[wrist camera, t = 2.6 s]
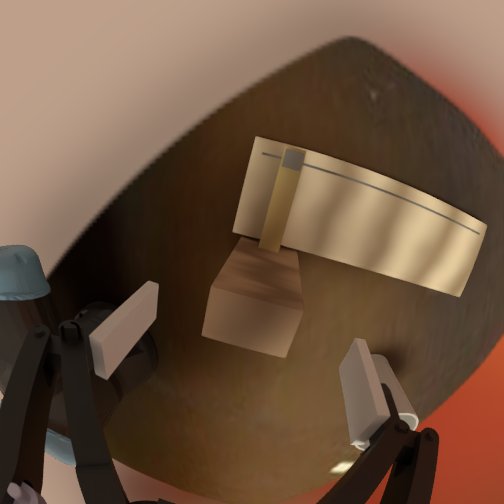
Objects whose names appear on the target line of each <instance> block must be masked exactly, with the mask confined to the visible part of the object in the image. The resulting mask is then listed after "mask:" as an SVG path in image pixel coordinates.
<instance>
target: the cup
mask: <svg viewBox="0 0 504 504" xmlns="http://www.w3.org/2000/svg"><path fill="white" fill-rule="evenodd" d="M370 355H371V357H372V360H373V363H374V366H375V369H376V372H377V375H378V378H379V381H380V383H385V384H386V385H387V386H388V387H389V389H390V390H391V393H392V397H393V399H394V402H395V405H396V408H397V411H398V414H399V417H400V419H401V420H404V421H405V422H406V423H408V425H409V426H410V430H413V431H414V430H415V429H416V427H417V425H418V417H417V415H416V414H415V412H414V410H413V408H412V406H411V404H410V402H409V400H408V399H407V397H406V395H405V393H404V391H403V389H402V387H401V385H400V384H399V382H398V380H397V378H396V376H395V374H394V373H393V371H392V369H391V367H390V365H389V363H388V361H387V359H386V358H385V357H384V356H382V355H379V354H370ZM369 445H370V443H369V440H368V441H367V442H366V443H365V444H364V445H355V446H356V447H357V448H358V449H360V450H365V449H366V448H367V447H368V446H369Z"/></svg>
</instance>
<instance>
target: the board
mask: <svg viewBox="0 0 504 504" xmlns="http://www.w3.org/2000/svg"><path fill="white" fill-rule="evenodd" d="M285 145H286V146H290V147H294V148H297V149H301V150H305V151H306V155H305V159H304V162H303V166H302V170H301V174H300V177H299V181H298V185H297V188H296V192H295V196H294V199H293V203H292V206H291V210H290V214H289V217H288V221H287V224H286V228H285V231H284V235H283V238H282V242H281V245H282V246H286V247H289V248H293V249H297V250H300V251H304V252H307V253H311V254H315V255H318V256H322V257H325V258H329V259H332V260H336V261H339V262H343V263H346V264H350V265H353V266H357V267H360V268H364V269H367V270H371V271H374V272H377V273H381V274H384V275H388V276H391V277H394V278H398V279H401V280H405V281H408V282H411V283H415V284H418V285H421V286H425V287H428V288H431V289H435V290H438V291H441V292H444V293H448V294H451V295H454V296H457V297H460V296H461V293H462V291H463V289H464V287H465V285H466V282H467V280H468V278H469V275H470V273H471V270H472V268H473V265H474V263H475V260H476V258H477V255H478V252H479V249H480V246H481V244H482V241H483V238H484V235H485V231H486V228H487V225H486V224H484V223H482V222H481V221H479V220H477V219H475V218H473V217H472V216H470V215H468V214H466V213H464V212H462V211H460V210H458V209H456V208H455V207H453V206H451V205H449V204H447V203H445V202H443V201H440V200H438V199H436V198H434V197H432V196H430V195H428V194H426V193H423V192H421V191H419V190H417V189H415V188H412V187H410V186H408V185H405V184H403V183H401V182H398V181H396V180H393V179H391V178H388V177H386V176H383V175H381V174H378V173H375V172H373V171H370V170H367V169H365V168H362V167H359V166H356V165H354V164H351V163H348V162H345V161H342V160H339V159H336V158H333V157H330V156H326V155H323V154H320V153H317V152H313V151H310V150H307V149H303V148H299V147H296V146H292V145H289V144H285V143H281V142H277V141H273V140H269V139H265V138H261V137H256V138H255V141H254V145H253V149H252V153H251V157H250V161H249V165H248V169H247V173H246V177H245V181H244V185H243V189H242V193H241V198H240V202H239V206H238V210H237V214H236V219H235V223H234V227H233V231H232V232H234V233H238V234H242V235H246V236H249V237H253V238H257V239H261V235H262V231H263V227H264V223H265V220H266V216H267V212H268V208H269V205H270V201H271V197H272V193H273V189H274V186H275V182H276V178H277V174H278V170H279V167H280V163H281V159H282V155H283V151H284V147H285Z"/></svg>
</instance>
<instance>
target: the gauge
mask: <svg viewBox="0 0 504 504" xmlns="http://www.w3.org/2000/svg"><path fill="white" fill-rule="evenodd" d="M305 155H306V151H305V150H301V149H297V148H294V147H290V146H286V145H285V147H284V151H283V155H282V159H281V163H280V167H279V170H278V174H277V178H276V182H275V186H274V189H273V193H272V197H271V201H270V205H269V208H268V212H267V216H266V220H265V223H264V227H263V231H262V235H261V239H257V238H253V237H249V236H246V235H242V236H241V238H240V240H239V241H238V243H237V245H236V246H235V248H234V249H233V251H232V253H231V254H230V256H229V257H228V259H227V261H226V262H225V264H224V266H223V267H222V269H221V271H220V272H219V274H218V275H217V277H216V279H215V280H214V282H213V284H212V285H211V289H210V294H209V299H208V304H207V309H206V314H205V319H204V325H203V330H202V335H201V336H204V337H208V338H211V339H214V340H218V341H221V342H224V343H228V344H231V345H235V346H239V347H242V348H246V349H250V350H254V351H258V352H261V353H266V354H270V355H274V356H278V357H282V358H285V357H286V355H287V352H288V350H289V348H290V345H291V343H292V340H293V338H294V336H295V333H296V331H297V328H298V326H299V323H300V321H301V318H302V316H303V313H304V305H303V296H302V287H301V278H300V270H299V262H298V254H297V249H293V248H289V247H286V246H282V245H281V242H282V238H283V235H284V231H285V228H286V224H287V221H288V217H289V214H290V210H291V206H292V203H293V199H294V196H295V192H296V188H297V185H298V181H299V177H300V174H301V170H302V166H303V162H304V159H305Z"/></svg>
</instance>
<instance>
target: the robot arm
mask: <svg viewBox="0 0 504 504" xmlns="http://www.w3.org/2000/svg"><path fill="white" fill-rule="evenodd" d="M158 288H159V284H157V283H154V282H151V281H148V282H146V283H145V284H144V285H143V286H142V287H141V288H140V289H139V290H137V291H136V292H135V293H134V294H133V295H132V296H131V297H130V298H129V299H127V300H126V301H125V302H124V303H123V304H122V305H121V306H120V307H119V306H116V305H114V304H112V303H108V302H104V301H96V302H92V303H90V304H88V305H87V306H85V307H84V308H83V309H82V310H81V311H79V313H78V314H77V315H76V317H75V319H74V320H66V321H64V322H62V323H61V321H60V318H59V315H58V313H57V310H56V307H55V304H54V302H53V299H52V296H51V293H50V291H51V289H50V286H49V283H48V282H47V281H46V278H45V275H44V272H43V270H42V266H41V263H40V260H39V257H38V255H37V254H36V252H35V251H34V250H33V249H31V248H30V247H27V246H24V245H11V246H1V247H0V391H1V392H2V394H3V395H4V397H3V399H2V400H1V404H0V504H47V503H46V502H45V500H44V498H43V497H42V496H41V490H42V483H43V466H44V452H46V453H47V454H49V455H51V456H52V457H54V458H55V459H57V460H59V461H60V462H63V463H64V464H67V465H76V468H75V469H76V474H77V478H78V482H79V485H80V488H81V491H82V494H83V497H84V500H85V503H86V504H174V503H171V502H168V501H165V500H163V499H160V498H159V500H158V502H156V501H135V502H131V503H130V502H129V500H128V498H127V496H126V494H125V491H124V490H123V487H122V485H121V482H120V480H119V477H118V475H117V472H116V470H115V466H114V464H113V461H112V458H111V455H110V452H109V449H108V445H107V442H106V439H105V435H104V432H103V429H104V427H105V426H106V424H107V422H108V421H109V419H110V417H111V416H112V414H113V412H114V411H115V409H116V408H117V406H118V404H119V403H120V401H121V400H122V398H123V397H124V396H125V395H127V394H128V393H130V392H131V391H133V390H134V389H136V388H137V387H139V386H140V385H142V384H143V383H145V382H146V381H147V380H148V379H149V378H150V376H151V374H152V373H153V371H154V370H155V368H156V365H157V352H156V349H155V346H154V343H153V341H152V339H151V337H150V336H149V334H148V333H147V331H146V330H147V329H148V328H149V326H150V325H151V324H152V323H153V321H154V320H155V319H156V311H157V299H158ZM339 373H340V379H341V384H342V390H343V396H344V402H345V408H346V414H347V421H348V427H349V434H350V442H351V445H364V444H365V443H366V442H367V441H368V440H369V443H370V445H369V446H368V447H367V448H366V449H365V450H364V451H363V452H362V453H361V454H360V455H361V456H360V457H359V458H358V459H357V461H356V462H355V463H354V464H353V465H352V466H351V468H350V469H349V470H348V471H347V472H346V473H345V475H344V476H343V477H342V478H341V479H340V480H339V481H338V482H337V483H336V484H335V485H334V487H333V488H332V489H331V490H330V491H329V492H328V493H327V494H326V495H325V496H324V497H323V498H322V499H321V500H320V501H319V502H317V504H365V503H366V502H367V500H368V499H369V498H370V496H371V495H372V494H373V492H374V491H375V489H376V488H377V487H378V485H379V484H380V482H381V481H382V479H383V478H384V476H385V475H386V473H387V472H388V470H389V469H390V467H391V466H392V464H393V466H392V470H391V473H390V476H389V479H388V482H387V485H386V488H385V491H384V494H383V496H382V499H381V502H380V504H430V499H431V494H432V489H433V484H434V478H435V472H436V465H437V456H438V446H439V435H438V434H437V432H436V431H435V430H434V429H432V428H425V429H423V430H422V431H421V432H416V431H413V430H410V426H409V425H408V423H406V422H405V421H404V420H401V419H400V417H399V414H398V411H397V408H396V405H395V402H394V399H393V397H392V393H391V390H390V389H389V387H388V386H387V385H386V384H385V383H380V381H379V378H378V375H377V372H376V369H375V366H374V363H373V360H372V357H371V355H370V352H369V349H368V346H367V344H366V341H365V340H364V339H359V338H355V339H354V341H353V343H352V345H351V347H350V348H349V350H348V352H347V354H346V356H345V358H344V359H343V361H342V363H341V365H340V366H339Z"/></svg>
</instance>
